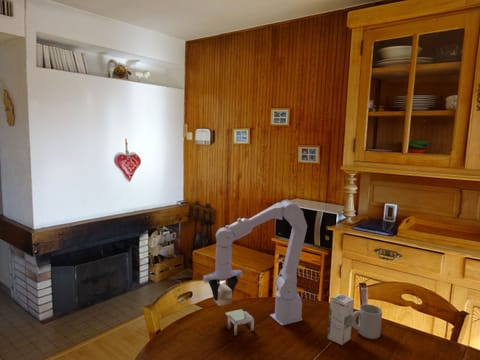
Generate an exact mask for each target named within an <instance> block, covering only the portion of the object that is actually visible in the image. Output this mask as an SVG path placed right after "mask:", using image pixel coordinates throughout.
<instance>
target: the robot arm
mask: <svg viewBox="0 0 480 360" xmlns="http://www.w3.org/2000/svg"><path fill="white" fill-rule="evenodd" d="M283 218H284V219H285V220H286V221H287V222H288V223H289V225H290V226H291V233H290V235H289V239H288V245H287V249H286V253H285V258H284V262H283V266H282V268H281V269H280V271H279V274H278V275H277V276H276V277H275V281H274V283H275V286H276V288H277V290H276V292H275V303H274V304H275V305H274V307H275V308H274V313H271V314H269V316H270V318H272V319H273V320H274V321H275V322H277V323H278V324H279V325H281V326H286V325H290V324H294V323H296V322H300V321H303V317H302V309H303V301H302V298H301V296H300V295H299V294H298V287H297V284H298V278H297V271H298V268H299V264H300V263H299V262H300V258H301V255H302V250H303V246H304V242H305V237H306V234H307V229H308V224H307V220H306V218H305V215H304V211H303V210H302V209H301V207H300V206H299V205H298V204H295V202H293V201H292V200H290V199H284V200H281V201H280V202H276V203H274V204H272V205H271V206H269V207H267V208H266V209H263V210H262V211H261V212H259V213H257V214H255V215H253V216H252V217H250V218H244V217H243V218H240V217H239V218H237V219H236V220H237V221H235V222H233V223H231V224H229V225H228V224H227V225H225V227H220V228H219V229H218V230H217V231H216V233H215V236H214V237H215V240H216V245H215V264H214V265H215V266H214V267H215V269H214V270H215V271H214V272H211V273H208V274H205V275H203V282H204V283H205V284H207V283H208V284H209V287H210V289H211V294H212V297H213V298H214V300H215V301H217V300H218V288H219V286H220V283H218V280H226V283H227V284H226V285H227V286H228V287H229V288H230V289H231V290H232V294H233V293H234V290H235V288H236V286H237V285H238V283H239V278H240V277H241V278H242V277H243V271H242V270H241V269H233V270H232V258H233V257H232V254H233V253H232V252H233V251H232V244H233V243H234V241H237V240H239V239H241V238H243V237H245V236H246V235H248V234H250V233H251V232H252V231H253V229H254V227H257V226H259V225H262V224H263V223H264V224H265V223H266V222H268V221H271V220H272V219H274V220H275V219H276V220H281V221H282V220H283ZM238 277H239V278H238ZM214 300H213V301H214ZM215 301H214V302H215Z"/></svg>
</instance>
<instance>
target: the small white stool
mask: <svg viewBox="0 0 480 360" xmlns="http://www.w3.org/2000/svg"><path fill="white" fill-rule="evenodd" d="M247 317H248V318H249V319H247ZM231 323H232V324H233V327H234V328H233V336H237V335H238V325H247V323H250V332H254V330H255V329H254V328H255V318H254V317H253V316H252V315H251V314H250V313H249V312H248V311H244V320H241V321H237V322H236V321H235V320H234V319H233V318H232V317H231V316H230V315H228V316H227V329H231Z"/></svg>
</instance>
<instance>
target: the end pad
mask: <svg viewBox="0 0 480 360" xmlns="http://www.w3.org/2000/svg"><path fill="white" fill-rule="evenodd" d="M244 312H245V311H244V310H243V309H242V308H240V309H237V310H231V311H227V312H225V313H224V314H225V315H226V317H228V315H230V316H231V317H232V318H233V319H234V320H235V321H236V322H237V321H241V320H244ZM247 319H249V318H248V317H247Z"/></svg>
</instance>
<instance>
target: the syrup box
mask: <svg viewBox="0 0 480 360" xmlns="http://www.w3.org/2000/svg"><path fill="white" fill-rule="evenodd" d="M354 303H355V299H354V298H352V297H350V296H348V295H345V294H342V293H337V294H336V295H334V296H332V297H331V298H330V300H329V309H328V310H329V313H328V321H327V323H328V324H327V337H326V338H327V339H328V340H330V341H332V342H334V343H337V344H338V345H341V346H344V345H345V344H346V343H347V342H349V341H350V340H351V339H352V337H351V336H352V328H353V326H352V318H353V313H354Z"/></svg>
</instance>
